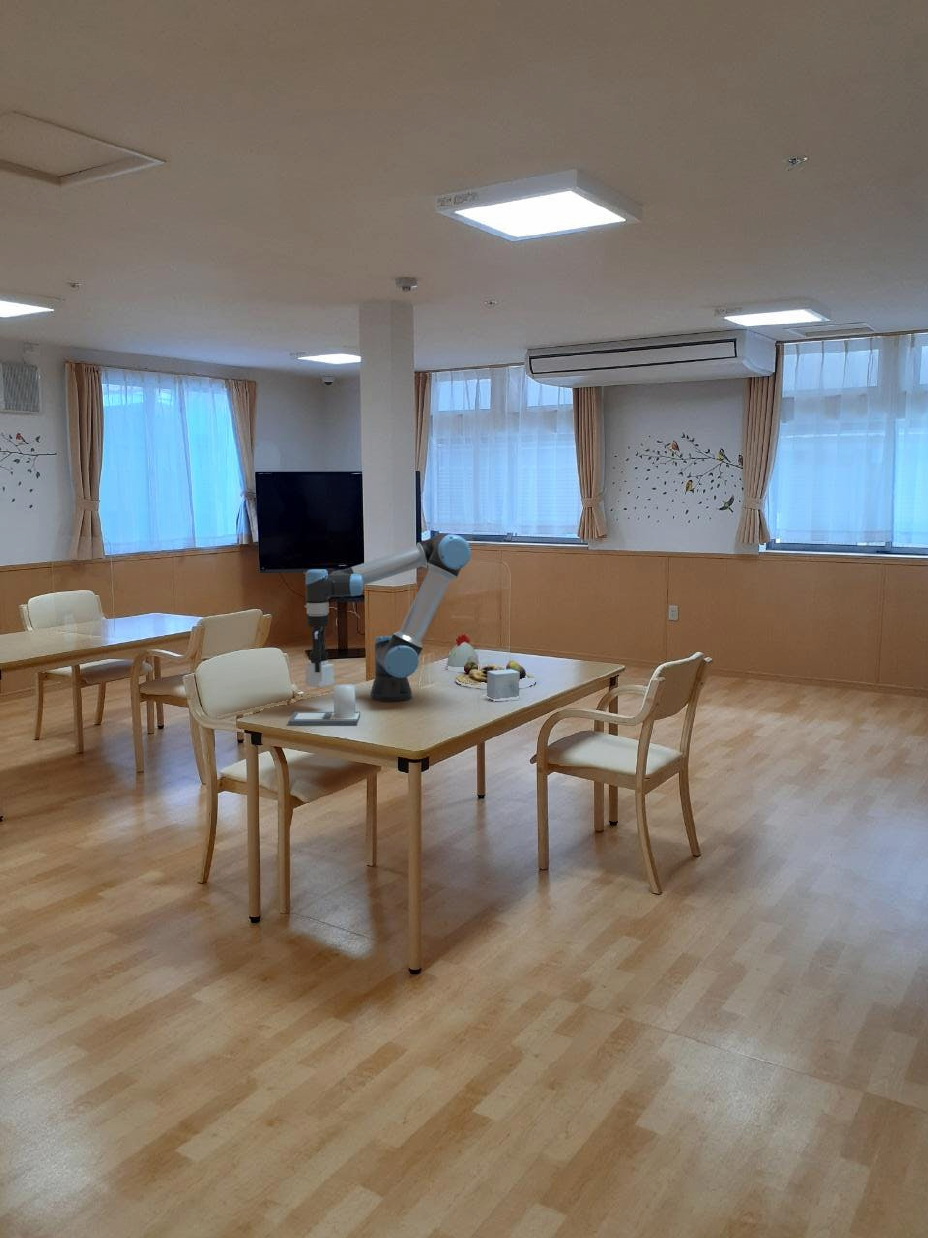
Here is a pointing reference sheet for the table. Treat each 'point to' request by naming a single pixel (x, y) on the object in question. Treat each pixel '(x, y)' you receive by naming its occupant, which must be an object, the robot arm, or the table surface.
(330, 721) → the dock board
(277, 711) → the table surface
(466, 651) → the white dome figure
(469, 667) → the wooden plate with food
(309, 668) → the medicine bottle
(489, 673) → the skincare box
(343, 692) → the plastic jar
